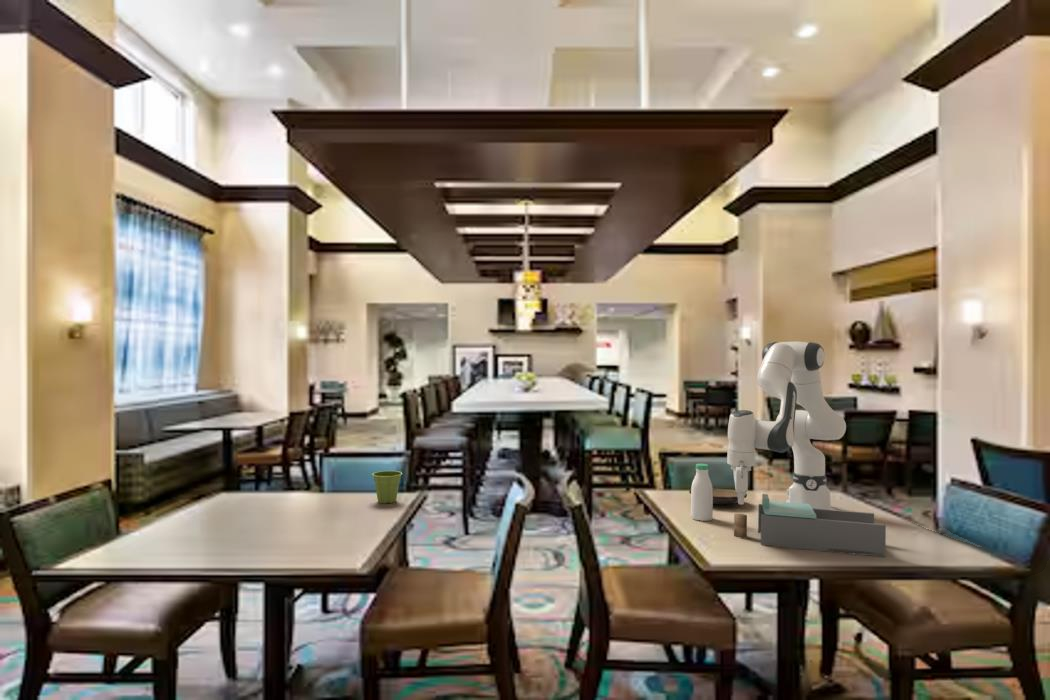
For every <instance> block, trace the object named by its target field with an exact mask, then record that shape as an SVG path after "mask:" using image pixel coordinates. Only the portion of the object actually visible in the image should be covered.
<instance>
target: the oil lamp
mask: <svg viewBox="0 0 1050 700" xmlns="http://www.w3.org/2000/svg"><path fill="white" fill-rule="evenodd" d="M695 476H696V475H694V476H693V479H692V480H694V478H695ZM712 488H713V487H712ZM688 494H690V495H691V489H689V491H688ZM747 496H748V493H747V492H746V493H745V495H744V499H746V498H747ZM736 502H737V503H738V498H737V492H736V489H735V490H734V489H726V488H716V487H715V488H713V505H730V504H733V503H736Z"/></svg>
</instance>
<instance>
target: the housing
mask: <svg viewBox="0 0 1050 700" xmlns="http://www.w3.org/2000/svg"><path fill="white" fill-rule="evenodd" d="M812 509H813V511H814V512H815V514H816V519H815V518H803V517H791V516H779V515H767V514H764V510H763V506H762V503H758V515H757V517H758V518H757V519H758V520H757V521H758V522H757V523H758V526H757V527H758V528H757V533H759V532H761V533H760V545H761V546H767V545H771V546H770V547H777V546H780V547H779V548H790V549H798V548H799V549H798V550H808V549H812V550H811V551H818V550H821V551H820V552H828V551H833V552H832V553H838V552H844V553H843V554H848V553H855V554H854V555H858V554H865V555H864V556H868V555H874V556H873V557H878V556H885V557H886V546H887V545H886V542H887V541H886V537H887V536H886V535H887V534H886V533H887V531H886V528H887V525H885V524H882V523H875V513H874V512H868V511H867V512H865V511H863V512H862V511H853V510H852V511H851V510H839V509H835V510H830V509H817V508H812Z"/></svg>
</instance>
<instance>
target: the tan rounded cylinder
mask: <svg viewBox="0 0 1050 700" xmlns="http://www.w3.org/2000/svg"><path fill="white" fill-rule="evenodd" d="M733 517H734V518H733V520H734V521H733V536H734V537H735V538H738V537H740V538H739V539H746V538H747V537H748V531H747V529H748V515H747V514H744V513H734V514H733ZM745 537H746V538H745Z"/></svg>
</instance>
